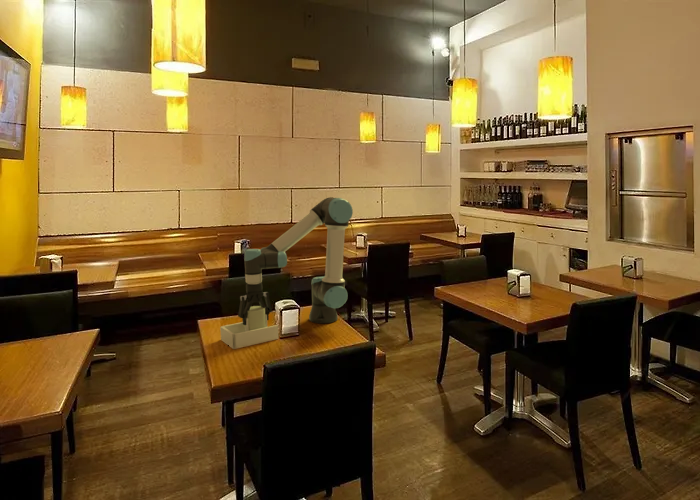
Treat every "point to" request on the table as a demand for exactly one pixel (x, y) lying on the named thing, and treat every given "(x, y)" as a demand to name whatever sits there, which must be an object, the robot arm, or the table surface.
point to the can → (256, 318)
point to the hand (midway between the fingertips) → (256, 329)
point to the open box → (247, 335)
